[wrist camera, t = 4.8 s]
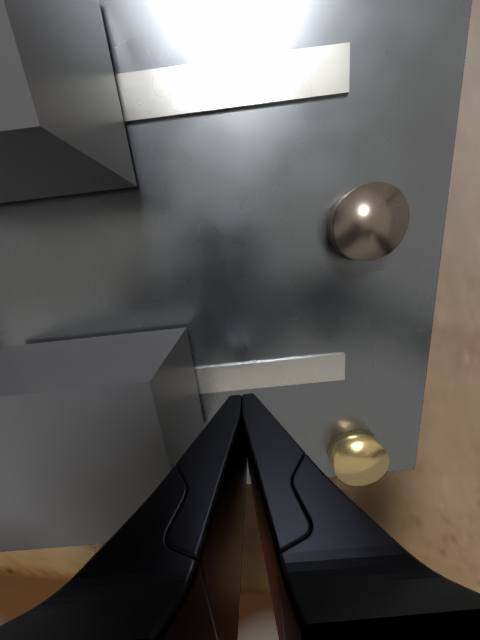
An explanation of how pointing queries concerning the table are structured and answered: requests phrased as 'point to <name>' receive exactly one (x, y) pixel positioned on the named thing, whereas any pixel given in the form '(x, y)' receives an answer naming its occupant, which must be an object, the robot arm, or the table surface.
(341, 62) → the breaker panel
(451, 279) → the table surface
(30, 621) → the robot arm
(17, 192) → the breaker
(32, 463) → the block
